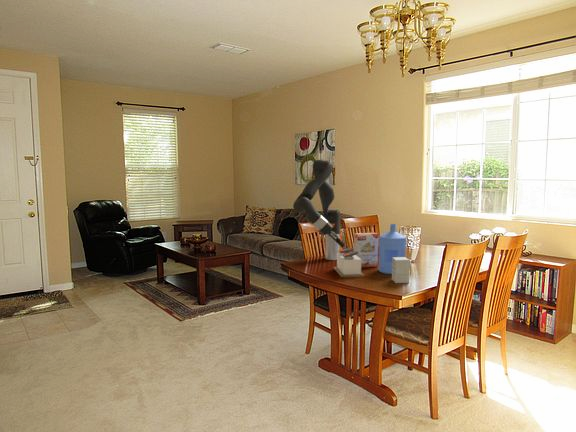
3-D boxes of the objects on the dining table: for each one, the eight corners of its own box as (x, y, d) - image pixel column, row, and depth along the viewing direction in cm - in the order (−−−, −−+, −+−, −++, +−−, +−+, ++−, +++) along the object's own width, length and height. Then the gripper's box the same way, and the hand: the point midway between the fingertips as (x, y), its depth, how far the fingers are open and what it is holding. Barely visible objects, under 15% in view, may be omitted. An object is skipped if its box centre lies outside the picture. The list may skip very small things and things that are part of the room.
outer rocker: (343, 258, 241) (342, 254, 240) (357, 254, 241) (355, 250, 241) (345, 260, 237) (344, 255, 236) (358, 255, 237) (357, 251, 237)
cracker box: (357, 268, 256) (357, 234, 254) (353, 266, 262) (353, 233, 259) (378, 266, 260) (378, 233, 257) (373, 264, 265) (374, 232, 263)
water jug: (373, 269, 252) (374, 223, 249) (395, 267, 258) (396, 222, 255) (388, 275, 238) (389, 226, 235) (411, 273, 243) (412, 225, 240)
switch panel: (334, 268, 255) (334, 250, 254) (355, 268, 257) (355, 250, 255) (341, 277, 235) (341, 257, 233) (364, 276, 236) (364, 257, 235)
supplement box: (404, 279, 230) (405, 256, 228) (409, 283, 222) (409, 259, 221) (391, 279, 229) (392, 256, 228) (395, 283, 222) (396, 259, 221)
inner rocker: (339, 254, 252) (338, 250, 251) (352, 251, 252) (351, 247, 252) (341, 255, 248) (340, 251, 247) (354, 252, 248) (353, 248, 248)
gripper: (329, 221, 229) (351, 243, 231) (324, 219, 242) (345, 239, 244) (319, 231, 229) (341, 253, 231) (315, 228, 242) (336, 248, 244)
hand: (343, 246), depth 238 cm, fingers closed
